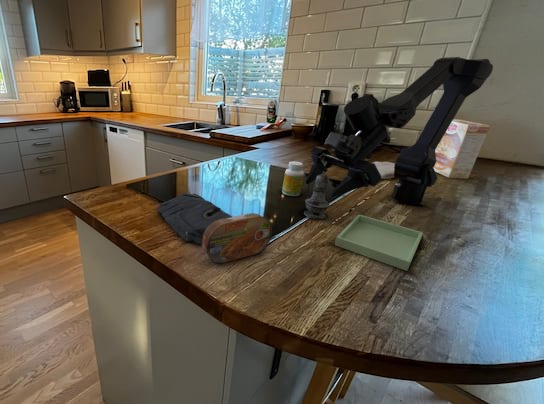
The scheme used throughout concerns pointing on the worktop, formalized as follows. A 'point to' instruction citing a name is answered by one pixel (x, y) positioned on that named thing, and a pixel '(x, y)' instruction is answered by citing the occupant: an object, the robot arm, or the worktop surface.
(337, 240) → the sage tray
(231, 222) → the tin
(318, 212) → the grey tall rounded piece
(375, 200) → the worktop surface
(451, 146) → the coffeecake box
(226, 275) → the worktop surface
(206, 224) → the navy blue pouch
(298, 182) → the supplement bottle
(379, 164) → the washcloth
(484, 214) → the worktop surface
